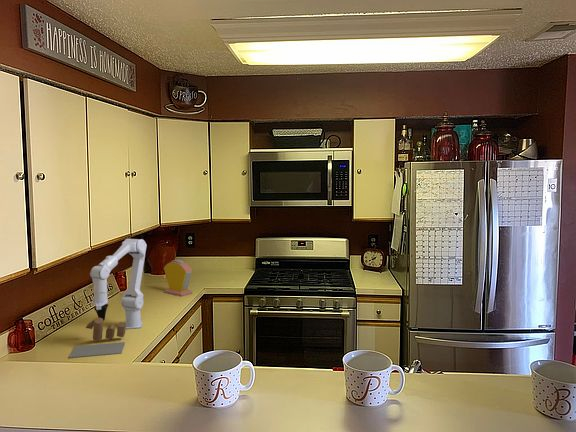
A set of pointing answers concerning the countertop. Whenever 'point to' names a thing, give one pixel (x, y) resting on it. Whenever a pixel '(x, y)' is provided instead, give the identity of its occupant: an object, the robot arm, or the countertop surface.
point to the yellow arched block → (178, 277)
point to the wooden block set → (110, 330)
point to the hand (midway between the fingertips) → (101, 320)
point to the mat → (97, 350)
